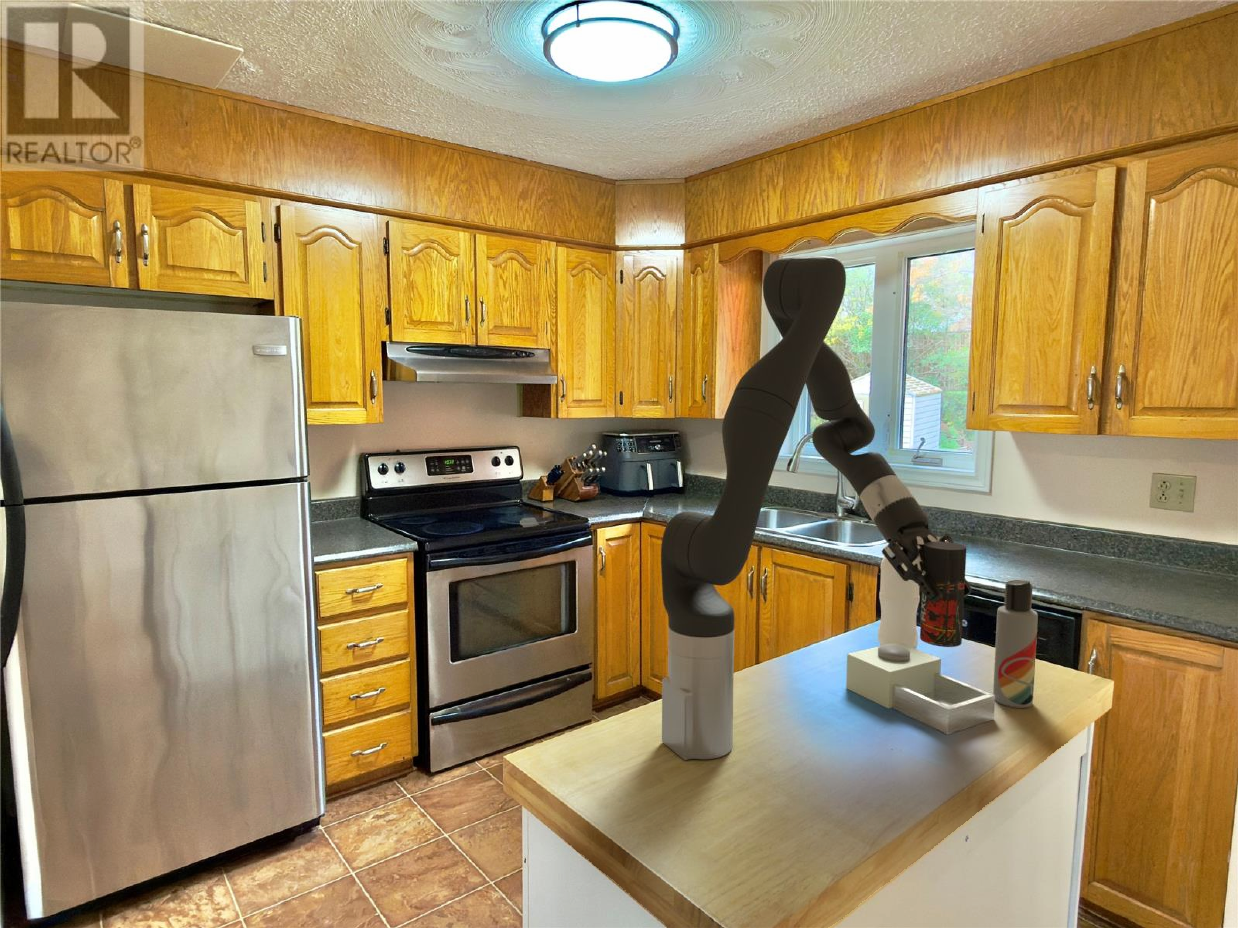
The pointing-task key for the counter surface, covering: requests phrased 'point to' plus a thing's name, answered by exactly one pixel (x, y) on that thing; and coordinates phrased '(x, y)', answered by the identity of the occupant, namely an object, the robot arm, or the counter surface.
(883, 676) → the cream rectangular block
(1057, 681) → the counter surface
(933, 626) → the deodorant
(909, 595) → the water bottle
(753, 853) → the counter surface
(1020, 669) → the lotion bottle
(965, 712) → the white open box
